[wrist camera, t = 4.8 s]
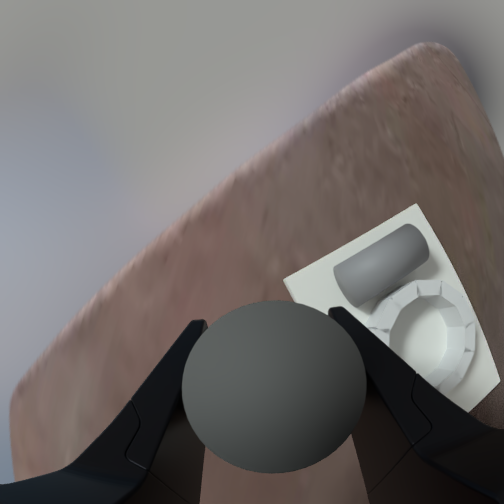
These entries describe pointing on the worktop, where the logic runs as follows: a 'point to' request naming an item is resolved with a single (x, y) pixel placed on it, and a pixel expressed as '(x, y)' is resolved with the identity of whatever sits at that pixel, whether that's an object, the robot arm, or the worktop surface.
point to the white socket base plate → (406, 303)
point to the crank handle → (274, 386)
